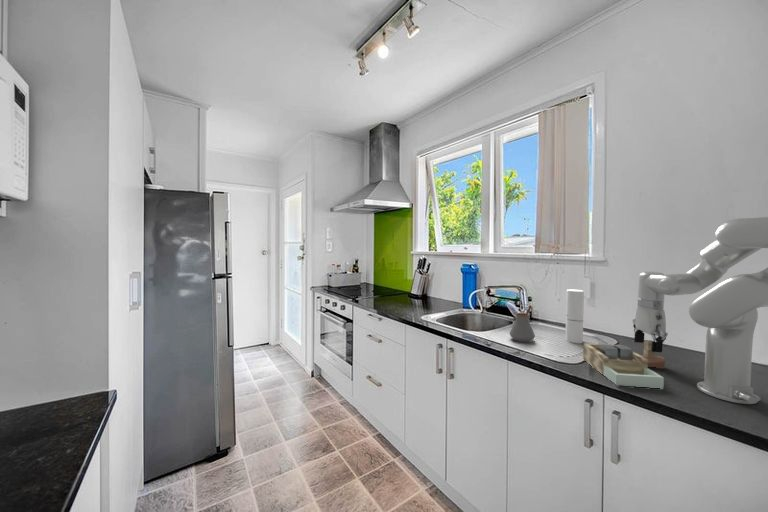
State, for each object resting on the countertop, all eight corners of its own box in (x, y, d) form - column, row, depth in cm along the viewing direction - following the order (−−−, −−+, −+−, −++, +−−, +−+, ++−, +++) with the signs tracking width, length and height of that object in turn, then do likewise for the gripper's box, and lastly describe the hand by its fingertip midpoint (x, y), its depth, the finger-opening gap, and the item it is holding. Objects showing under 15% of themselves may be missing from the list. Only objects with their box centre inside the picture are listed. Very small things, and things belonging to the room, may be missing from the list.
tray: (663, 389, 98) (663, 377, 97) (615, 386, 100) (616, 374, 100) (647, 379, 105) (647, 367, 105) (603, 376, 107) (603, 365, 107)
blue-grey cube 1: (632, 360, 109) (632, 349, 109) (620, 359, 110) (620, 349, 110) (625, 356, 113) (625, 345, 113) (613, 355, 114) (614, 345, 114)
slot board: (647, 379, 105) (648, 359, 105) (603, 376, 107) (603, 357, 107) (621, 362, 120) (621, 345, 119) (583, 360, 122) (583, 343, 122)
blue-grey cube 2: (617, 359, 110) (617, 348, 110) (605, 358, 111) (605, 348, 111) (611, 355, 114) (611, 345, 114) (599, 354, 115) (599, 344, 114)
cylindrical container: (577, 338, 149) (578, 289, 148) (585, 343, 142) (587, 291, 140) (562, 338, 149) (563, 289, 148) (570, 343, 142) (571, 291, 141)
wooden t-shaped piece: (664, 368, 113) (665, 342, 113) (638, 367, 115) (638, 341, 115) (659, 366, 116) (660, 340, 115) (634, 364, 117) (634, 339, 117)
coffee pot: (531, 345, 140) (531, 314, 139) (506, 340, 147) (506, 310, 146) (542, 334, 156) (543, 306, 155) (519, 330, 163) (520, 303, 162)
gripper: (679, 310, 105) (676, 356, 107) (645, 299, 122) (643, 339, 124) (655, 309, 107) (652, 355, 108) (625, 298, 124) (622, 338, 125)
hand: (647, 346), depth 116 cm, fingers open, 9 cm apart
